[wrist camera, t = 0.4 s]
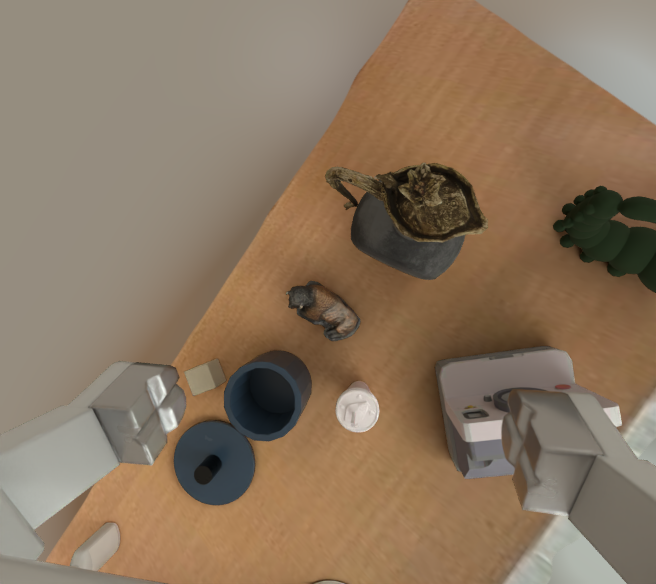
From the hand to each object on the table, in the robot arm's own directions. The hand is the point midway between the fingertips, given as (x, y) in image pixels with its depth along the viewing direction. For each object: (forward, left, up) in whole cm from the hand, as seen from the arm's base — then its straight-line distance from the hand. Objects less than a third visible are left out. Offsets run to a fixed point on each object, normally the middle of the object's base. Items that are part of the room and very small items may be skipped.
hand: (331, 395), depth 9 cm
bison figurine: (+1, +6, -53) cm, 53 cm away
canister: (-8, +20, -52) cm, 56 cm away
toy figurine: (-7, -39, -53) cm, 66 cm away
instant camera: (-24, -14, -53) cm, 60 cm away
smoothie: (-14, +6, -53) cm, 55 cm away
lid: (-17, +35, -52) cm, 65 cm away
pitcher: (+9, -8, -53) cm, 54 cm away
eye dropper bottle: (-24, +61, -53) cm, 84 cm away
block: (-2, +31, -52) cm, 61 cm away
